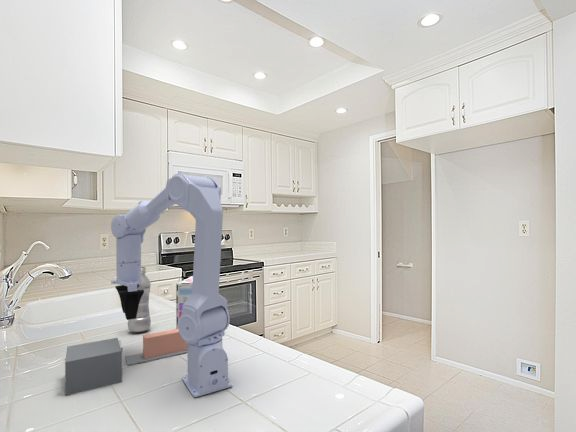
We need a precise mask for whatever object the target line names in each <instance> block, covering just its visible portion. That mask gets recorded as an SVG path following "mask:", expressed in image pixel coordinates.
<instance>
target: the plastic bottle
mask: <svg viewBox="0 0 576 432" xmlns="http://www.w3.org/2000/svg"><path fill="white" fill-rule="evenodd" d="M146 268H147V267H146V266H141V278H142V282H140V283H139V286H138V288H137V290H144V293H143V295H142V297H141V300H140V302H139V306H138V312H137V316H136V319H130V320H127V329H128V330H129V332H130V333H142V332H146V331H149V329H150V327H151V322H152V321H151V315H150V306H149V304H150V302H149V300H150V292H151V291H150V290H151V286H152V283H151V281H150V279H149V278H148V276H146V274H147V271H146V270H147V269H146Z"/></svg>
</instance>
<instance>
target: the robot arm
mask: <svg viewBox="0 0 576 432" xmlns="http://www.w3.org/2000/svg"><path fill="white" fill-rule="evenodd" d="M171 176H172V177H171V178H168V179H167V180H166V184H165V187H164V188H163V189H162V190H161V191H160V192H159V193H158V194H156V196H155V197H153V198H152V199H151V200H140V201H139V202H138V203H137V205H135V207H133V208H132V209H130V210H128V212H126V213H125V214H119V213H118V214H115V216H114V217H113V218H112V221H111V224H110V229H111V230H110V231H111V233H112V235H113V237H115V238H116V241H115V242H116V243H115V244H116V245H115V246H116V247H115V248H116V251H115V252H116V258H115V260H116V263H115V264H116V266H115V267H116V279H112V280H110V281H111V285H115V284H116V285H115V286H114V287H115V290H116V291H117V293H118V296H119V299H120V306H121V310H122V312H123V314H124V316H125V319H126V320H127V321H128V320H130V319H136V316H137V312H138V306H139V302H140V300H141V297H142V295H143V293H144V290H137V288H138V286H139V283H140V282H142V278H141V267H142V244H143V243H144V236H145V233H146V231H147V228H149V227H150V226H152V225H153V224H155V223H156V222H157V221H159V219H160V217H161V213H162V212H164V211H166V210H168V209H169V208H171V207H173V206H174V205H177V206H178V207H180V208H182V209H183V210H184V211H187V212H188V213H189V214H190V215H191V216H192V217H193V219H195V229H194V230H195V232H194V247H193V248H194V249H193V251H194V252H193V253H194V254H193V266H192V267H193V270H192V271H193V272H192V273H193V274H192V276H193V286H192V294H191V296H190V297H189V298H188V299H187V301H186V302H185V303H184V304H183V306H182V314H181V317H180V319H179V323H178V329H179V333H180V336H181V337H182V339H183V340H184V342H185V343H187V350H186V351H187V353H186V354H187V355H186V356H187V375H182V377H181V379H182V381H183V382H184V384H185V386H186V387H187V389H188V390H189V392H190V393H191V395H192V397H193V398H197V397H202V396H204V395H207V394H211V393H215V392H219V391H221V390H225V389H227V388H228V389H229V388H231V387H233V382H231V381H230V380H229V360H228V359H229V358H228V354H227V352H226V351H225V349H224V347H223V337H224V336H225V331H226V330H227V329H228V328H229V325H230V321H231V319H230V317H231V316H230V313H229V310H228V299H226V298H225V297H224V296H222V295H221V294H220V293H219V291H220V279H221V278H220V277H221V276H220V274H221V272H220V271H221V259H222V258H221V254H222V253H221V252H222V238H223V237H222V236H223V219H224V217H223V216H224V212H223V210H224V209H223V206H222V202H221V199H222V198H221V196H222V187H221V186H220V185H219V183H217V181H216V180H215V179H213V177H212V178H211V177H201V176H194V175H188V174H184V173H174V175H171Z"/></svg>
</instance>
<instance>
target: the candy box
mask: <svg viewBox="0 0 576 432" xmlns="http://www.w3.org/2000/svg"><path fill="white" fill-rule="evenodd" d="M175 285H176V286H175V287H176V289H175V290H176V292H175V293H176V295H175V296H176V300H175V301H176V303H175V304H176V305H175V306H176V307H175V308H176V319H175V321H176V323H175V325H176V328H175V329H178V323H179V319H180V317H181V314H182V306H183V304H184V303H185V302H186V301H187V299H188V298H189V297H190V296H191V294H192V286H193V275H191V276H189V277H188V278H186V279H183V280H181V281H178V282H177V283H176V284H175Z"/></svg>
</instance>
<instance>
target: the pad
mask: <svg viewBox="0 0 576 432" xmlns="http://www.w3.org/2000/svg"><path fill="white" fill-rule="evenodd" d="M184 354H187V350H183V351H179V352H174V353H169V354H165V355H160V356H156V357H151V358H147V359H145V358H144V356H143V352H140V353H139V352H138V353H135V354H130V355H125V356H124V358H125V361H126V364H127V366H128V367H129V366H133V365H137V364H138V365H139V364H143V363H148V362H153V361H157V360H160V359H165V358H169V357H176V356H181V355H184Z"/></svg>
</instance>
